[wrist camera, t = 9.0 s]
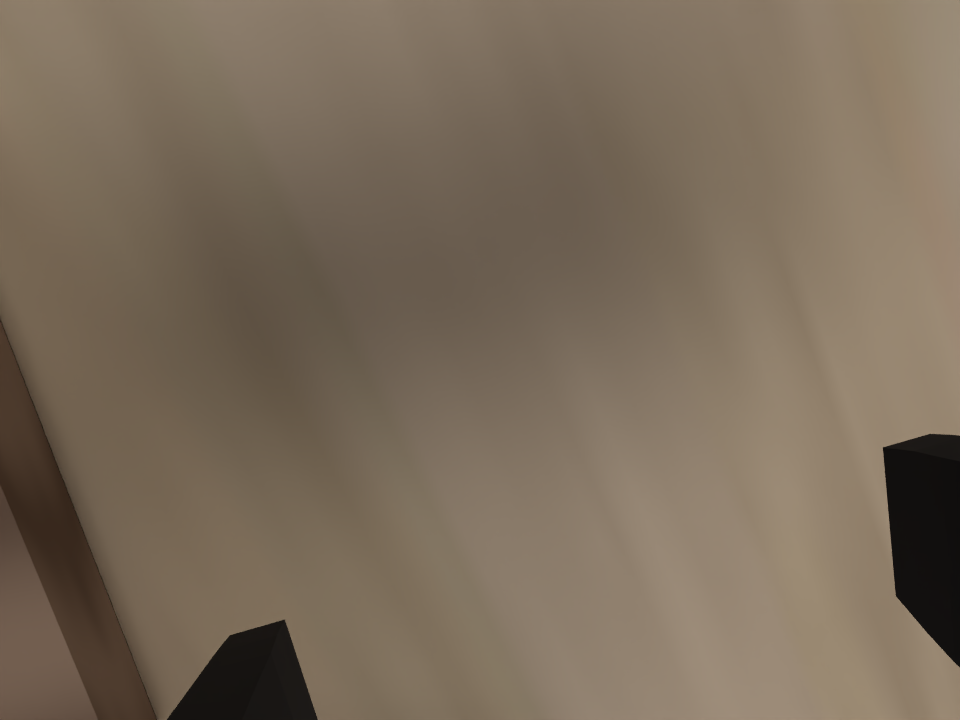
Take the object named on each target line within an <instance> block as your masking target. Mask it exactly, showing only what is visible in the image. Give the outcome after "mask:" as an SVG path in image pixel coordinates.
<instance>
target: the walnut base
mask: <svg viewBox="0 0 960 720" xmlns="http://www.w3.org/2000/svg"><path fill="white" fill-rule="evenodd" d="M0 720H157V719H156V717H155V714H154V712H153V709H152V707H151V704H150V702H149V699H148V696H147V694H146V691H145V689H144V686H143V684H142V681H141V679H140V676H139V674H138V671H137V668H136V666H135V663H134V661H133V658H132V656H131V653H130V651H129V648H128V645H127V643H126V640H125V638H124V635H123V633H122V630H121V628H120V625H119V623H118V620H117V617H116V615H115V612H114V610H113V607H112V605H111V602H110V600H109V597H108V594H107V592H106V589H105V587H104V584H103V582H102V579H101V577H100V574H99V571H98V569H97V566H96V564H95V561H94V559H93V556H92V554H91V551H90V549H89V546H88V543H87V541H86V538H85V536H84V533H83V531H82V528H81V526H80V523H79V520H78V518H77V515H76V513H75V510H74V508H73V505H72V503H71V500H70V498H69V495H68V492H67V490H66V487H65V485H64V482H63V480H62V477H61V475H60V472H59V469H58V467H57V464H56V462H55V459H54V457H53V454H52V452H51V449H50V446H49V444H48V441H47V439H46V436H45V434H44V431H43V429H42V426H41V424H40V421H39V418H38V416H37V413H36V411H35V408H34V406H33V403H32V401H31V398H30V395H29V393H28V390H27V388H26V385H25V383H24V380H23V378H22V375H21V373H20V370H19V367H18V365H17V362H16V360H15V357H14V355H13V352H12V350H11V347H10V344H9V342H8V339H7V337H6V334H5V332H4V329H3V327H2V324H1V322H0Z"/></svg>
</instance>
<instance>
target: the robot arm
mask: <svg viewBox="0 0 960 720" xmlns="http://www.w3.org/2000/svg"><path fill="white" fill-rule="evenodd" d="M883 454H884V465H885V477H886V488H887V500H888V511H889V522H890V534H891V545H892V557H893V568H894V580H895V591H896V597H897V598H898V599H899V600H900V601H901V603H902V604H903V605H904V606H905V607H906V608H907V610H908V611H909V612H910V613H911V614H912V615H913V617H914V618H915V619H916V620H917V621H918V622H919V624H920V625H921V626H922V627H923V628H924V629H925V631H926V632H927V633H928V634H929V635H930V636H931V637H932V638H933V639H934V641H935V642H936V643H937V644H938V645H939V646H940V647H941V648H942V649H943V650H944V651H945V653H946V654H947V655H948V656H949V657H950V658H951V659H952V660H953V661H954V662H955V663H956V664H957V665H958V666H959V667H960V436H957V435H941V434H928V435H925V436H921V437H918V438H914V439H911V440H907V441H904V442H901V443H897V444H894V445H890V446H887V447H883ZM167 720H318V719H317V716H316V713H315V710H314V707H313V704H312V701H311V698H310V695H309V692H308V689H307V686H306V683H305V680H304V677H303V674H302V671H301V668H300V665H299V662H298V659H297V656H296V652H295V649H294V646H293V643H292V640H291V637H290V634H289V631H288V628H287V625H286V622H285V620H282V621H278V622H275V623H271V624H268V625H264V626H261V627H257V628H254V629H250V630H247V631H244V632H240V633H237V634H233V635H230V636H229V637H228V638H227V640H226V641H225V642H224V643H223V644H222V646H221V647H220V648H219V649H218V651H217V652H216V653H215V655H214V656H213V657H212V659H211V660H210V661H209V663H208V664H207V666H206V667H205V668H204V670H203V671H202V672H201V674H200V675H199V677H198V678H197V679H196V681H195V682H194V683H193V685H192V686H191V688H190V689H189V690H188V692H187V693H186V694H185V696H184V697H183V699H182V700H181V701H180V703H179V704H178V705H177V707H176V708H175V709H174V711H173V712H172V713H171V715H170V716H169V718H168V719H167Z"/></svg>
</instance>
